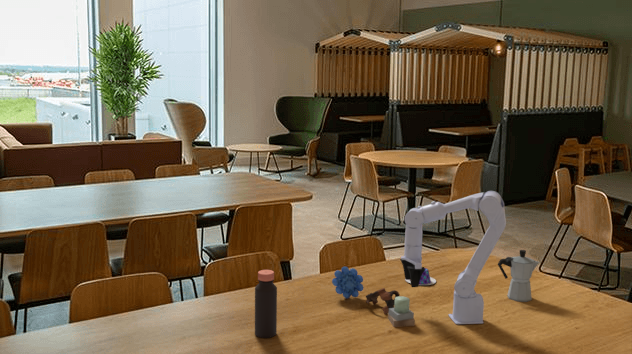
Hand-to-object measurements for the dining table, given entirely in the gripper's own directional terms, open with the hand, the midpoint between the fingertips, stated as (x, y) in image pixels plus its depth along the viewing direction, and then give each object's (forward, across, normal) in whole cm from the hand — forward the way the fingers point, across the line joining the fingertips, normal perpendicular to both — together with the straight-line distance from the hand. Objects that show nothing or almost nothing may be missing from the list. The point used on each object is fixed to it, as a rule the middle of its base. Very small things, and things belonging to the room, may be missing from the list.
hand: (411, 283), depth 221 cm
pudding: (+11, -32, +13) cm, 36 cm away
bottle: (+11, +14, -50) cm, 53 cm away
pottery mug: (+11, -4, -8) cm, 14 cm away
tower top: (+8, +8, -5) cm, 13 cm away
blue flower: (+11, -14, -19) cm, 26 cm away
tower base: (+11, +8, -5) cm, 15 cm away
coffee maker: (+11, -11, +43) cm, 46 cm away
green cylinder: (+6, +8, -5) cm, 12 cm away
